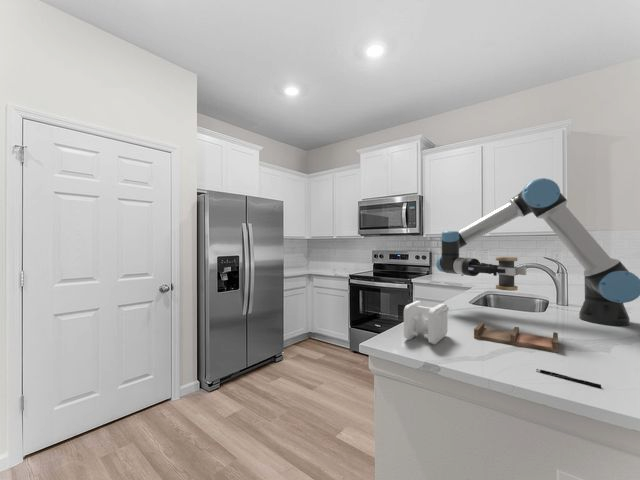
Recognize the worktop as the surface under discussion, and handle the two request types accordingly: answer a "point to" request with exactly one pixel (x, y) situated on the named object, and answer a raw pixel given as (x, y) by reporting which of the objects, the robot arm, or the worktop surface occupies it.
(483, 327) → the slot cradle
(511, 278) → the cord spool
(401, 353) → the worktop surface
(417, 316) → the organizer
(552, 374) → the black pen
